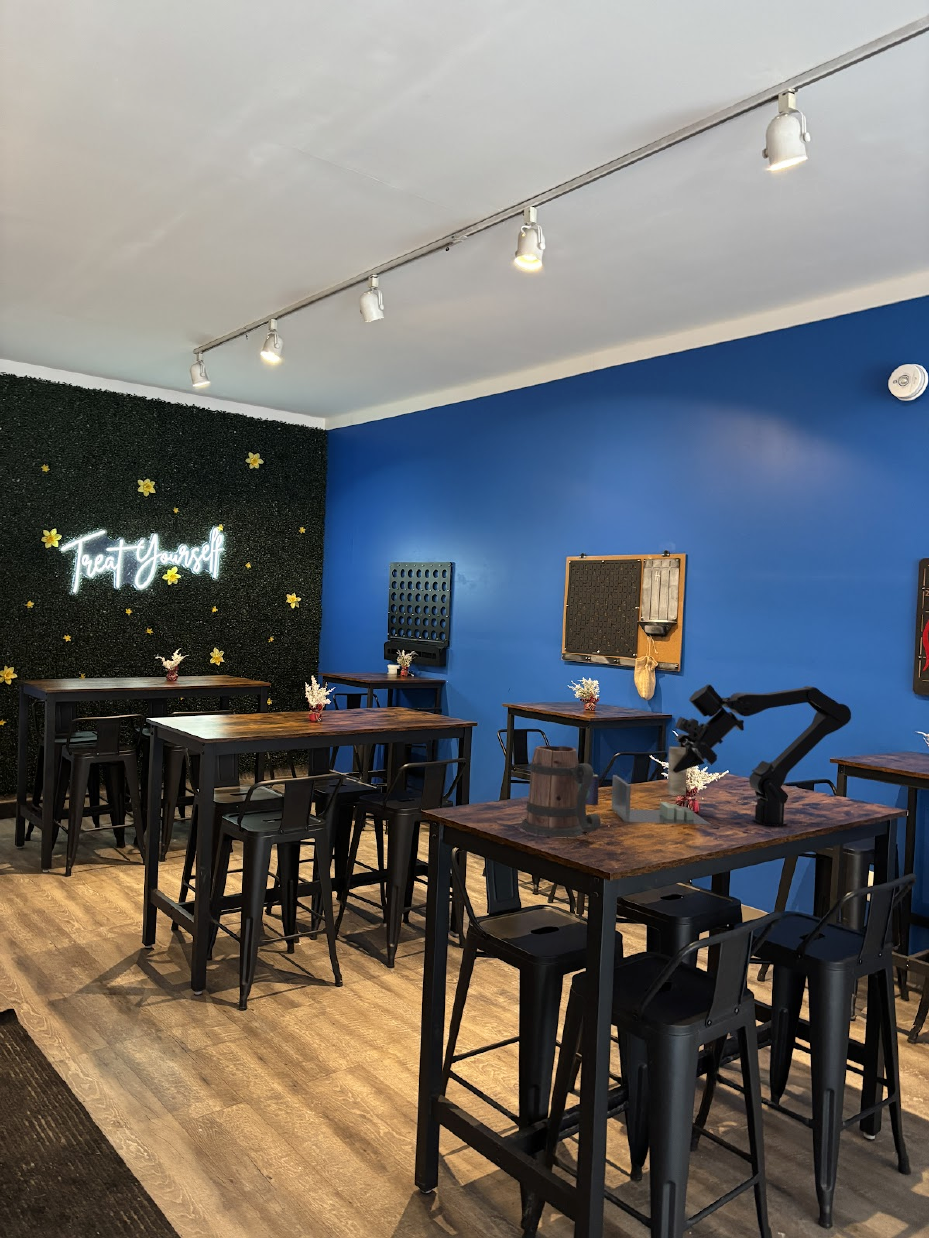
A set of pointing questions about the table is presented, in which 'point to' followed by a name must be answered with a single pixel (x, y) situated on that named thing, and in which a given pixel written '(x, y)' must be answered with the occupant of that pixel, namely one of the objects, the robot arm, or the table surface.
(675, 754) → the birch block
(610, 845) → the table surface
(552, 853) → the table surface
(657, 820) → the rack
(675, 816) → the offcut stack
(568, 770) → the tankard
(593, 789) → the flask
